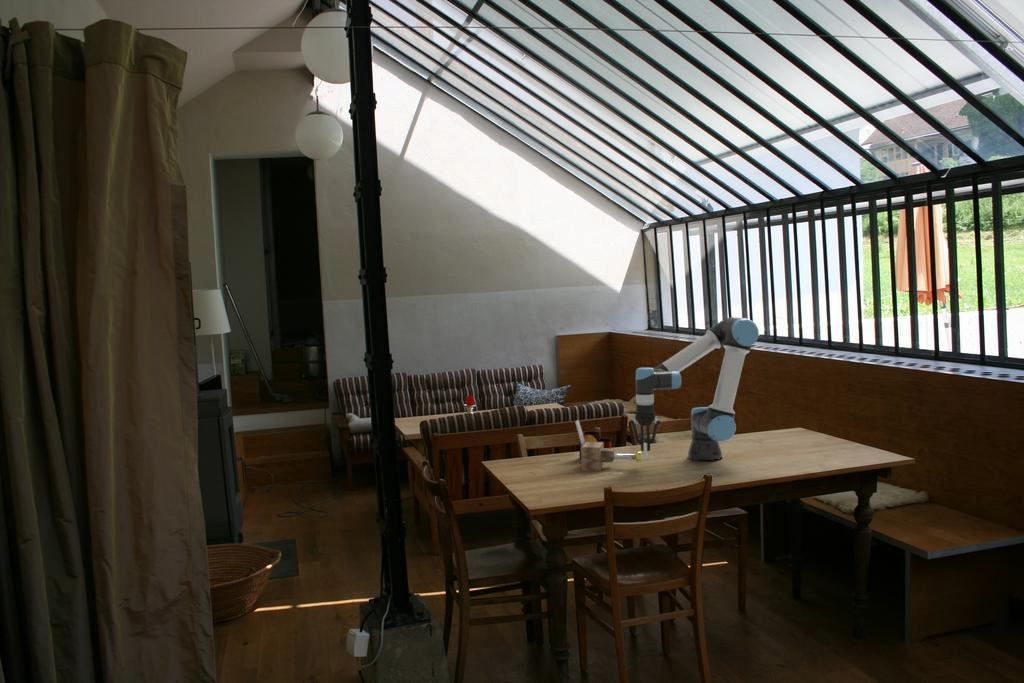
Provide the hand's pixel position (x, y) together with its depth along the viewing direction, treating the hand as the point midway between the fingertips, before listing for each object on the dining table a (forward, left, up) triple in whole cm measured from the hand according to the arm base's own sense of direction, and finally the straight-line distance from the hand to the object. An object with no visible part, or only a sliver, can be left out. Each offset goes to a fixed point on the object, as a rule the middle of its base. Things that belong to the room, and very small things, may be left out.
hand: (645, 458), depth 360 cm
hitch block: (+21, 0, -5) cm, 21 cm away
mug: (+25, -18, -5) cm, 31 cm away
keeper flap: (+28, 0, +11) cm, 30 cm away
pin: (+12, 0, -2) cm, 12 cm away
